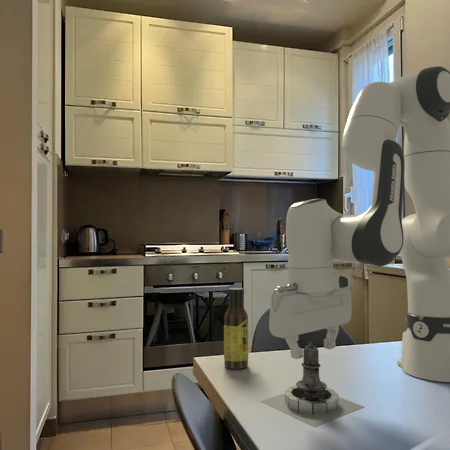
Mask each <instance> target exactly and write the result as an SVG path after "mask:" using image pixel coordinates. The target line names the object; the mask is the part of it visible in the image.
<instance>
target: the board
mask: <svg viewBox="0 0 450 450" xmlns="http://www.w3.org/2000/svg"><path fill="white" fill-rule="evenodd" d="M298 398H299V399H301V398H303V397H298ZM320 399H321V400H325V399H322V398H320ZM338 399H339V406H338V408H337V410H336V411H334V412H332V413H329V414H323V415H313V414H312V415H310V414H304V413H299V412H296V411H294V410H292V409H289V408H288V407H287V405H286V404H285V392H284V393H281V394H278V395H275V396H272V397H269V398H265V399H262V400H260V403H263V404H266V405H267V406H269V407H270V408H271V407H272V408H274V409H275V410H278V411H279V412H282V413H283V414H286V415H288V416H290V417H292V418H294V419H296V420H299V421H300V422H303V423H305V424H307V425H308V426H311V427H313V428H316V427H319V426H322V425H324V424H326V423H329V422H331V421H333V420H336V419H338V418H342V417H344V416H345V415H349V414H351V413H354V412H356V411H359V410H362V409H363V408H365V406H364V405H361V404H358V403H357V402H352V401H351V400H348V399H344V398H342V397H340V396H338Z"/></svg>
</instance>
